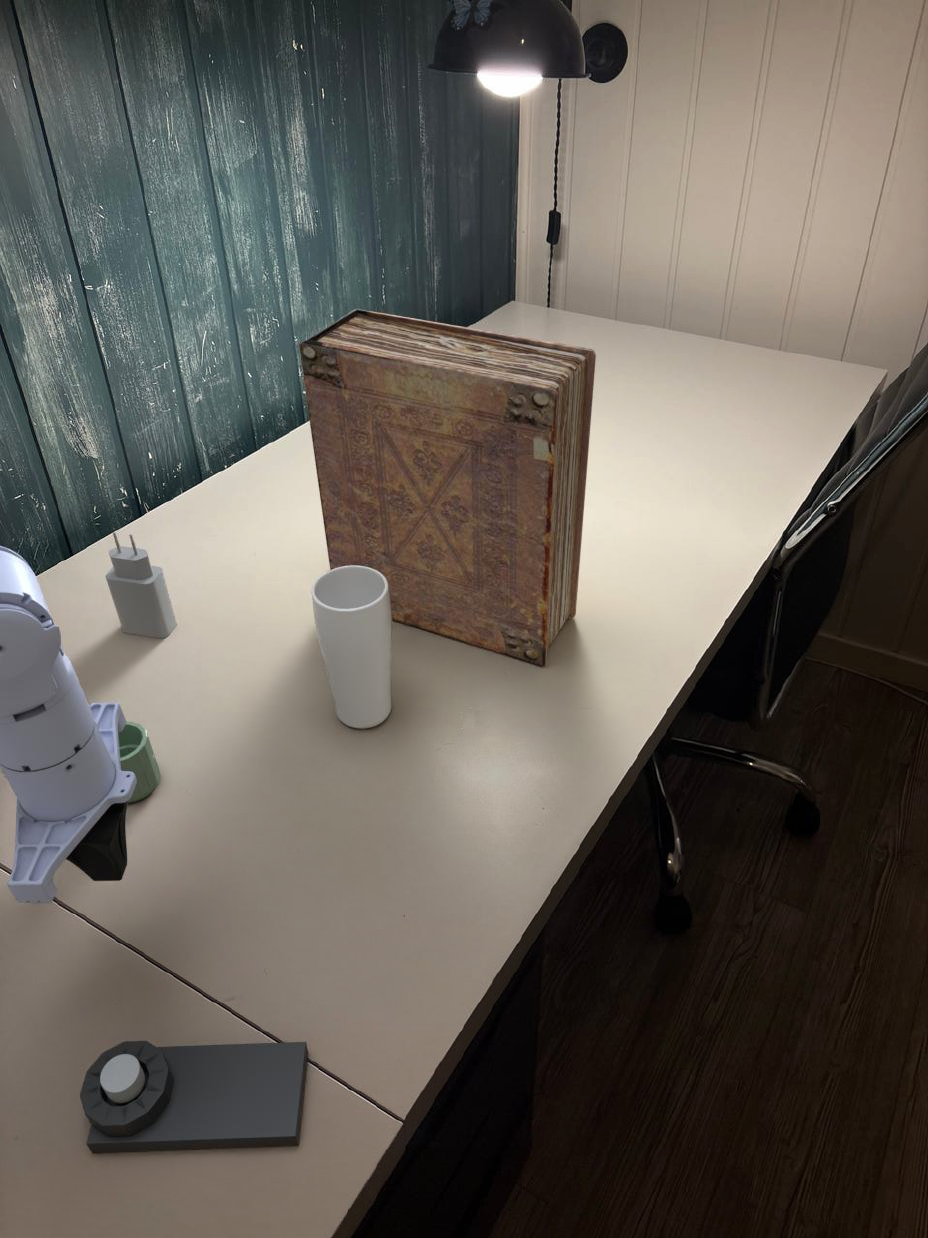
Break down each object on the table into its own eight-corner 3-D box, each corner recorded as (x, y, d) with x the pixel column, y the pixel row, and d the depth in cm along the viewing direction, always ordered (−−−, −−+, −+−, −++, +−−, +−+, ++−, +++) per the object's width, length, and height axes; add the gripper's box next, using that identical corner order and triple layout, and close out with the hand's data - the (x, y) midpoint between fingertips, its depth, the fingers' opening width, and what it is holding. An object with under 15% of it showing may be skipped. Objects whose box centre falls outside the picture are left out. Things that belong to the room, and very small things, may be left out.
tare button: (101, 1104, 57) (95, 1093, 56) (112, 1066, 59) (105, 1054, 58) (140, 1103, 57) (134, 1092, 56) (149, 1064, 59) (143, 1053, 58)
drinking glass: (404, 689, 91) (394, 565, 81) (393, 739, 85) (382, 613, 76) (336, 685, 91) (319, 562, 82) (322, 735, 86) (301, 609, 76)
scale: (81, 1154, 58) (68, 1133, 56) (107, 1058, 62) (96, 1036, 60) (298, 1146, 58) (292, 1125, 56) (308, 1051, 62) (303, 1029, 61)
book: (577, 617, 99) (599, 349, 80) (544, 669, 93) (559, 391, 74) (376, 559, 108) (353, 306, 89) (333, 602, 102) (298, 340, 83)
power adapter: (134, 614, 101) (106, 522, 93) (179, 621, 100) (154, 528, 92) (119, 632, 98) (89, 538, 91) (165, 639, 97) (138, 545, 90)
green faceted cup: (108, 812, 79) (91, 769, 76) (102, 774, 82) (85, 731, 79) (165, 795, 80) (150, 751, 77) (156, 758, 84) (142, 715, 80)
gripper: (69, 834, 49) (137, 970, 57) (146, 652, 60) (193, 789, 68) (-62, 836, 49) (25, 971, 57) (39, 655, 60) (100, 790, 69)
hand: (110, 872), depth 63 cm, fingers closed
